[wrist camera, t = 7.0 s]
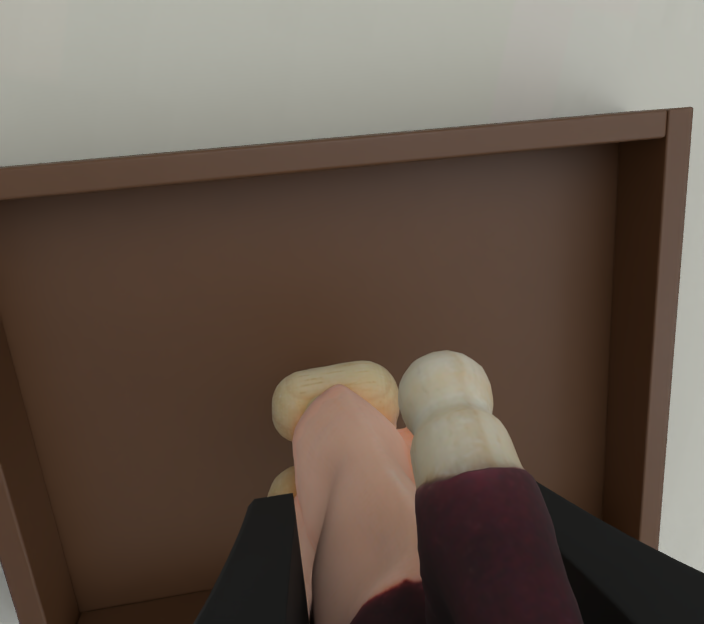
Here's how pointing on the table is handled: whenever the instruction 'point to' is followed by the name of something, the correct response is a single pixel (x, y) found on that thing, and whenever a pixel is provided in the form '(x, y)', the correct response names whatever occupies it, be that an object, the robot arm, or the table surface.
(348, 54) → the table surface
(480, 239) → the tray
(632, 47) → the table surface
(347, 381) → the grandmother figurine
